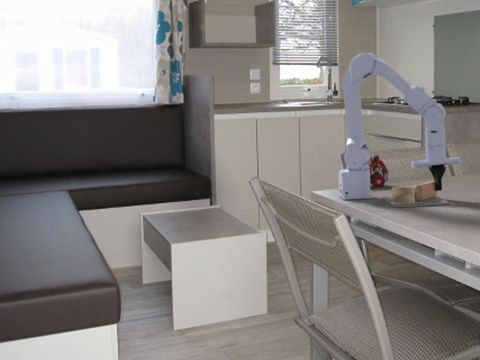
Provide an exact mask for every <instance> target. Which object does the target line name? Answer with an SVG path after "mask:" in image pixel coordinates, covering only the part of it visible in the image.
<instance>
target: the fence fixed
mask: <svg viewBox="0 0 480 360" xmlns="http://www.w3.org/2000/svg"><path fill="white" fill-rule="evenodd" d="M391 190H392V192H391V193H392V196H391V197H392V201H393V203H407V202H421V185H419V184H414V185H413V186H396V187H391Z"/></svg>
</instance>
